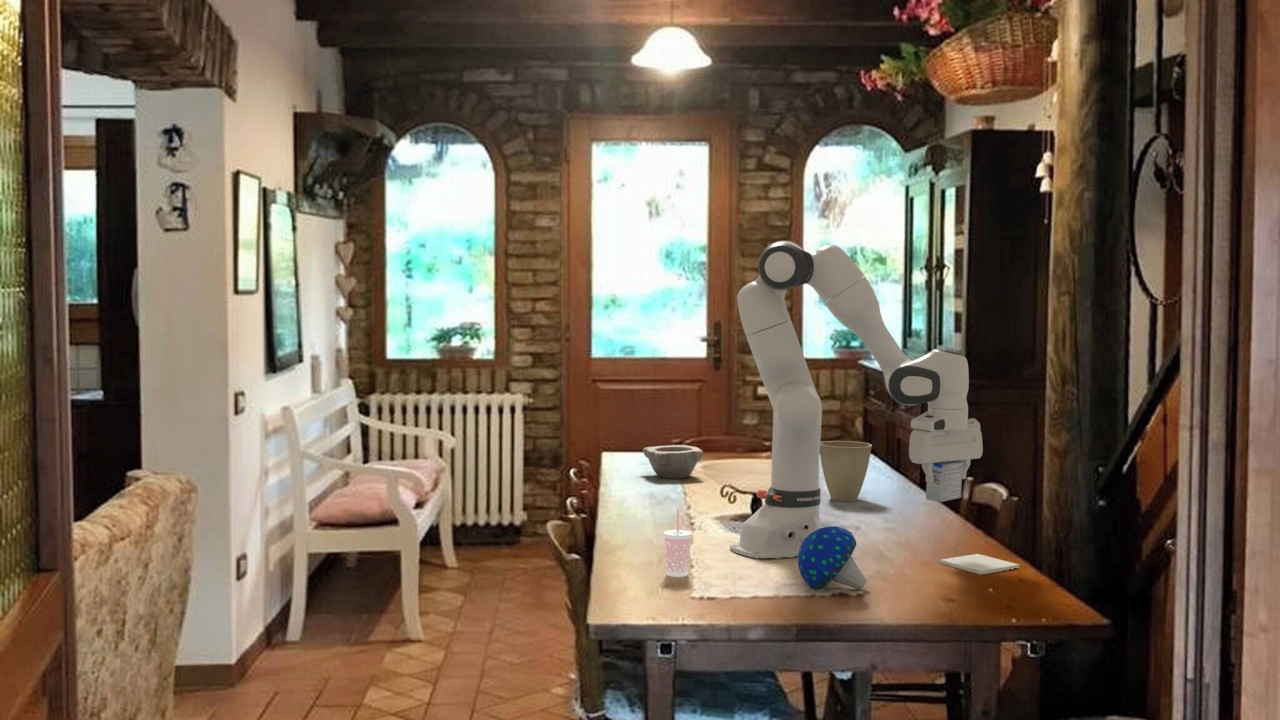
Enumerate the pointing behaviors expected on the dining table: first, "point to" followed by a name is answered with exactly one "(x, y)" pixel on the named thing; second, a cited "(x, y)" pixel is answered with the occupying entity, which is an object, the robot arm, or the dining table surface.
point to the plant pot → (844, 467)
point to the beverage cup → (677, 551)
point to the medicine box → (945, 481)
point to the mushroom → (829, 559)
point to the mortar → (673, 460)
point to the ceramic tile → (979, 564)
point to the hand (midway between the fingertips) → (945, 480)
